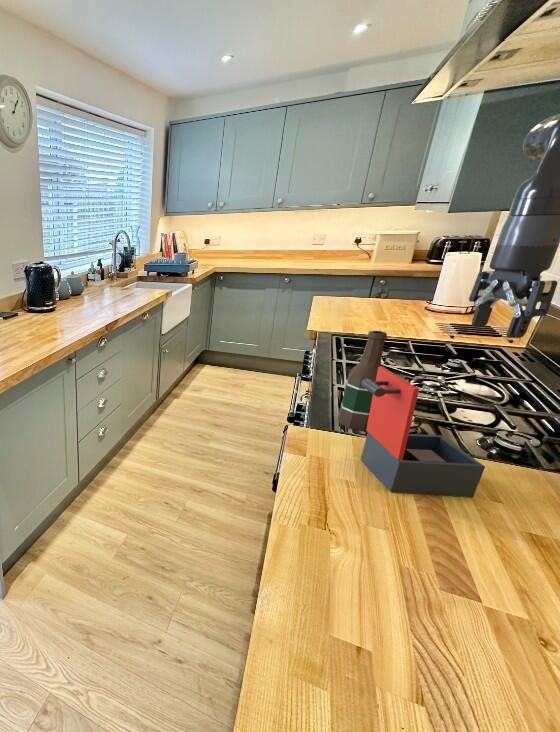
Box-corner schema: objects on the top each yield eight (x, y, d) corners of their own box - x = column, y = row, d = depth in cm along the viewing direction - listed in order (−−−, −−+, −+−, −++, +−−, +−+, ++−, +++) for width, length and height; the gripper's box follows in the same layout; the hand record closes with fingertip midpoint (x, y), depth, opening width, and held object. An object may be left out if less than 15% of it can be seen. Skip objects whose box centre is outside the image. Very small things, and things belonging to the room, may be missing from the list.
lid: (382, 366, 83) (354, 367, 84) (419, 388, 72) (386, 389, 73) (370, 430, 88) (343, 430, 89) (402, 460, 77) (372, 459, 78)
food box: (432, 463, 88) (441, 435, 86) (473, 497, 77) (485, 466, 75) (360, 459, 91) (367, 432, 88) (390, 492, 80) (399, 462, 78)
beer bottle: (367, 434, 100) (392, 338, 91) (331, 423, 106) (352, 332, 97) (379, 424, 104) (404, 331, 95) (344, 414, 110) (365, 326, 101)
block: (400, 467, 86) (406, 448, 84) (424, 468, 85) (431, 449, 83) (413, 480, 82) (420, 460, 80) (440, 481, 81) (447, 462, 79)
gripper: (594, 243, 66) (553, 341, 72) (518, 238, 79) (489, 322, 85) (537, 245, 68) (502, 341, 74) (472, 240, 81) (446, 322, 87)
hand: (495, 331), depth 79 cm, fingers open, 8 cm apart
